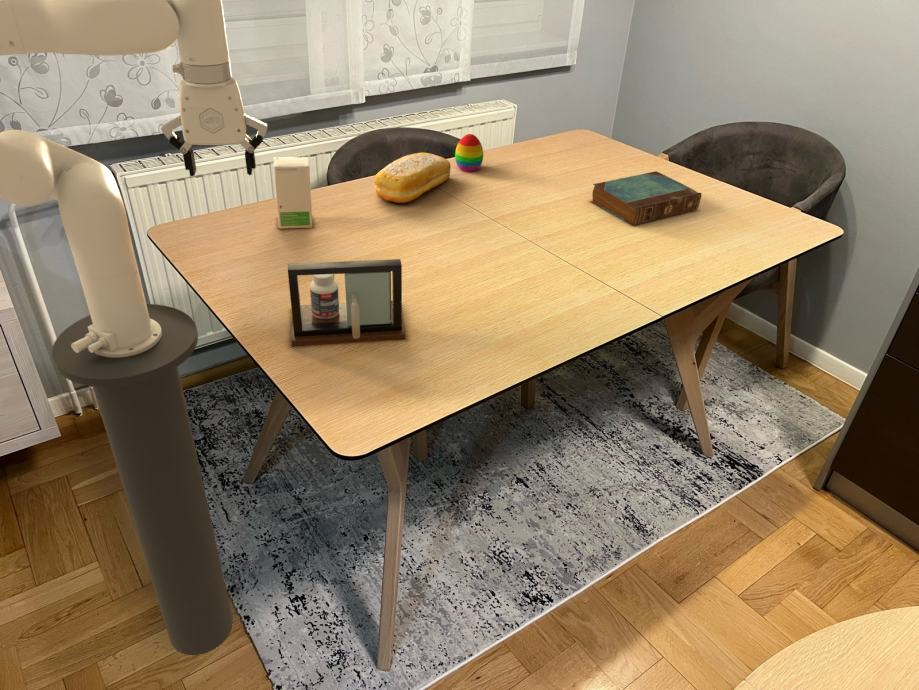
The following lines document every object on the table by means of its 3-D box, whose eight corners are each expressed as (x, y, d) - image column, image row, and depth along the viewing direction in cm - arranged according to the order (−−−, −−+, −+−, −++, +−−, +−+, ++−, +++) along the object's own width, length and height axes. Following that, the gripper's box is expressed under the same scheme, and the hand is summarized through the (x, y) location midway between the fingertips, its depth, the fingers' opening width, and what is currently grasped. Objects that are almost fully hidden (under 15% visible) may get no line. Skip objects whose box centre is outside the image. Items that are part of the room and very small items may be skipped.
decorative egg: (461, 161, 217) (462, 128, 212) (486, 166, 215) (488, 132, 209) (450, 170, 211) (451, 136, 205) (476, 175, 208) (478, 141, 203)
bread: (365, 200, 191) (364, 171, 186) (414, 168, 210) (414, 141, 206) (409, 211, 186) (409, 181, 181) (456, 178, 206) (457, 150, 201)
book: (633, 226, 184) (637, 208, 181) (589, 201, 196) (592, 183, 194) (697, 210, 194) (702, 193, 191) (652, 187, 207) (655, 170, 204)
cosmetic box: (278, 229, 174) (271, 166, 165) (278, 217, 179) (272, 156, 171) (314, 227, 176) (309, 165, 167) (313, 216, 181) (308, 155, 172)
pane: (393, 341, 132) (392, 289, 126) (348, 344, 131) (346, 291, 125) (389, 321, 138) (389, 270, 132) (347, 323, 137) (344, 272, 130)
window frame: (405, 339, 138) (405, 268, 129) (292, 346, 134) (284, 273, 126) (398, 305, 148) (398, 237, 139) (292, 310, 145) (286, 241, 136)
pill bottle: (321, 323, 139) (318, 282, 134) (306, 311, 142) (303, 271, 137) (344, 314, 142) (342, 274, 137) (329, 303, 145) (327, 263, 140)
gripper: (146, 78, 114) (167, 182, 124) (260, 78, 117) (271, 179, 126) (154, 66, 120) (173, 166, 130) (262, 66, 123) (273, 164, 132)
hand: (221, 172), depth 128 cm, fingers open, 9 cm apart
